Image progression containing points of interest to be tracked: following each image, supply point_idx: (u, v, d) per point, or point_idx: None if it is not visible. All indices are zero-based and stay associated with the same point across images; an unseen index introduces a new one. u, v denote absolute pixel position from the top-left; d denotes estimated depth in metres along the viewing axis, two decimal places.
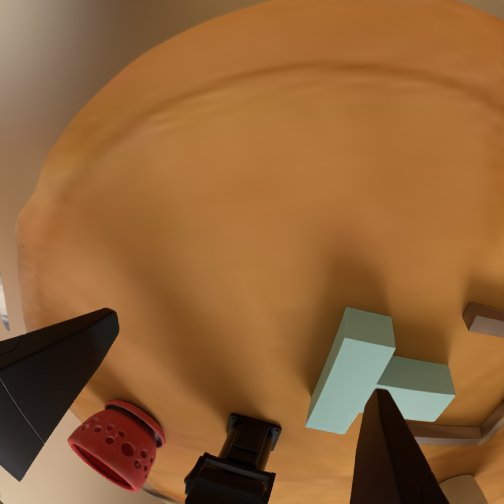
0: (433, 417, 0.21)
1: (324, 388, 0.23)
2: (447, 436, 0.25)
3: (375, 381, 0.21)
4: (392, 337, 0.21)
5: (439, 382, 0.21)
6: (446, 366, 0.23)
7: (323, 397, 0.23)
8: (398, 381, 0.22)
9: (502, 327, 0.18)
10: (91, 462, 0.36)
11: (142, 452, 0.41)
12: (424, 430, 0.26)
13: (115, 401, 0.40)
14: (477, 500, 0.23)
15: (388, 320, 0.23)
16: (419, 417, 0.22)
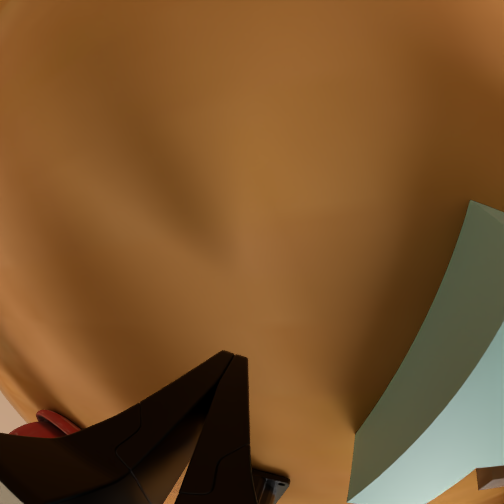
0: None
1: (425, 433, 0.06)
2: None
3: None
4: None
5: None
6: None
7: (412, 454, 0.07)
8: None
9: None
10: None
11: None
12: None
13: (44, 412, 0.23)
14: None
15: None
16: None
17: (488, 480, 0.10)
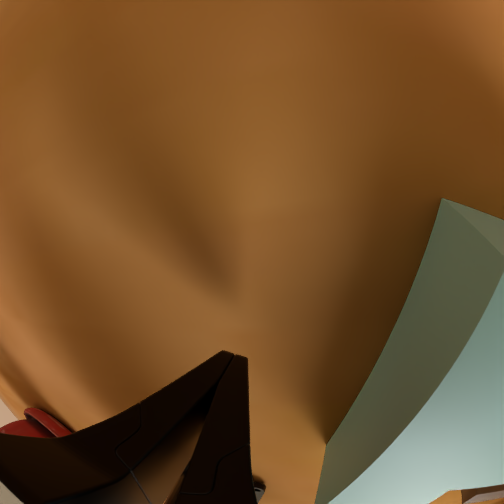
0: None
1: (382, 457, 0.06)
2: None
3: None
4: None
5: None
6: None
7: (371, 476, 0.06)
8: None
9: None
10: None
11: None
12: None
13: (31, 410, 0.23)
14: None
15: None
16: None
17: (472, 494, 0.09)
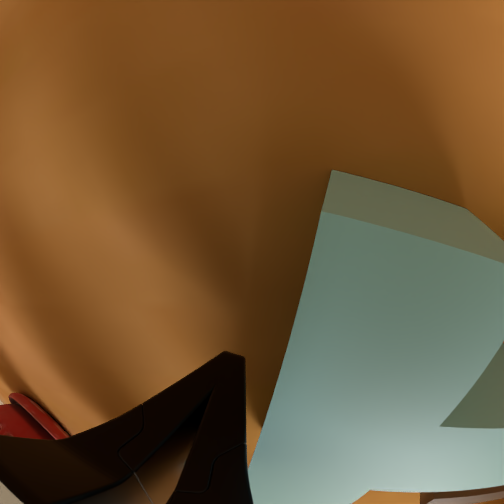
0: None
1: (264, 435, 0.07)
2: None
3: (439, 418, 0.05)
4: None
5: None
6: None
7: (265, 456, 0.07)
8: (493, 407, 0.05)
9: None
10: None
11: None
12: None
13: (14, 394, 0.24)
14: None
15: (465, 211, 0.06)
16: None
17: (429, 498, 0.10)
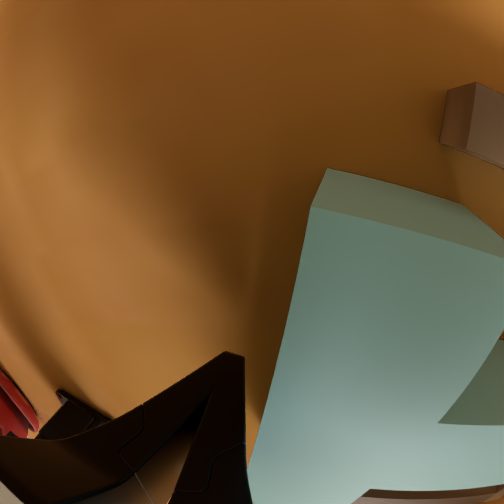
0: None
1: (262, 432, 0.07)
2: (426, 494, 0.10)
3: (437, 415, 0.05)
4: (500, 239, 0.04)
5: None
6: None
7: (264, 455, 0.07)
8: (493, 404, 0.05)
9: None
10: None
11: None
12: None
13: None
14: None
15: (461, 207, 0.06)
16: None
17: None
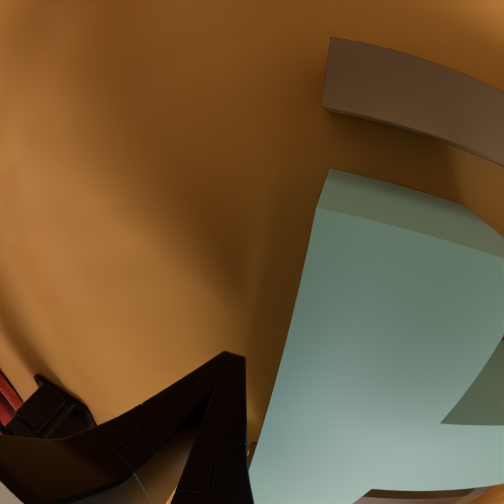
0: None
1: (264, 433, 0.07)
2: (380, 493, 0.11)
3: (439, 415, 0.05)
4: (503, 240, 0.04)
5: None
6: None
7: (266, 455, 0.07)
8: (494, 404, 0.05)
9: (487, 110, 0.04)
10: None
11: None
12: None
13: None
14: None
15: (463, 208, 0.06)
16: None
17: None
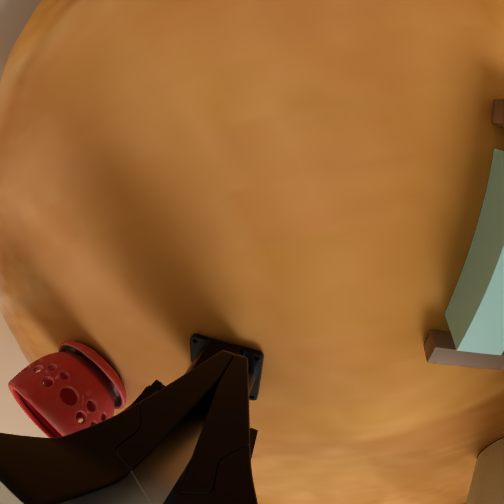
0: None
1: (499, 261, 0.12)
2: None
3: None
4: None
5: None
6: None
7: (495, 281, 0.13)
8: None
9: None
10: (41, 423, 0.29)
11: (101, 413, 0.33)
12: None
13: (67, 341, 0.32)
14: None
15: None
16: None
17: (432, 349, 0.18)
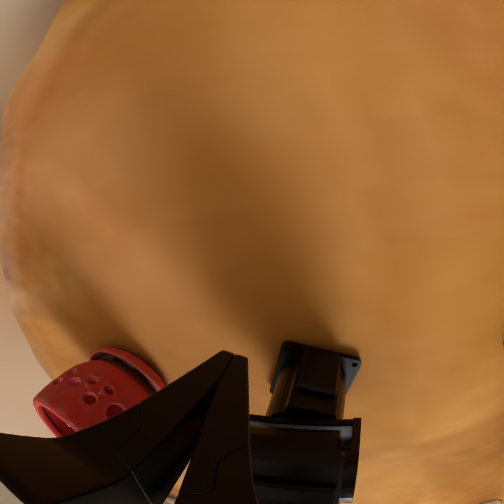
0: None
1: None
2: None
3: None
4: None
5: None
6: None
7: None
8: None
9: None
10: None
11: None
12: None
13: (104, 348, 0.29)
14: None
15: None
16: None
17: None
